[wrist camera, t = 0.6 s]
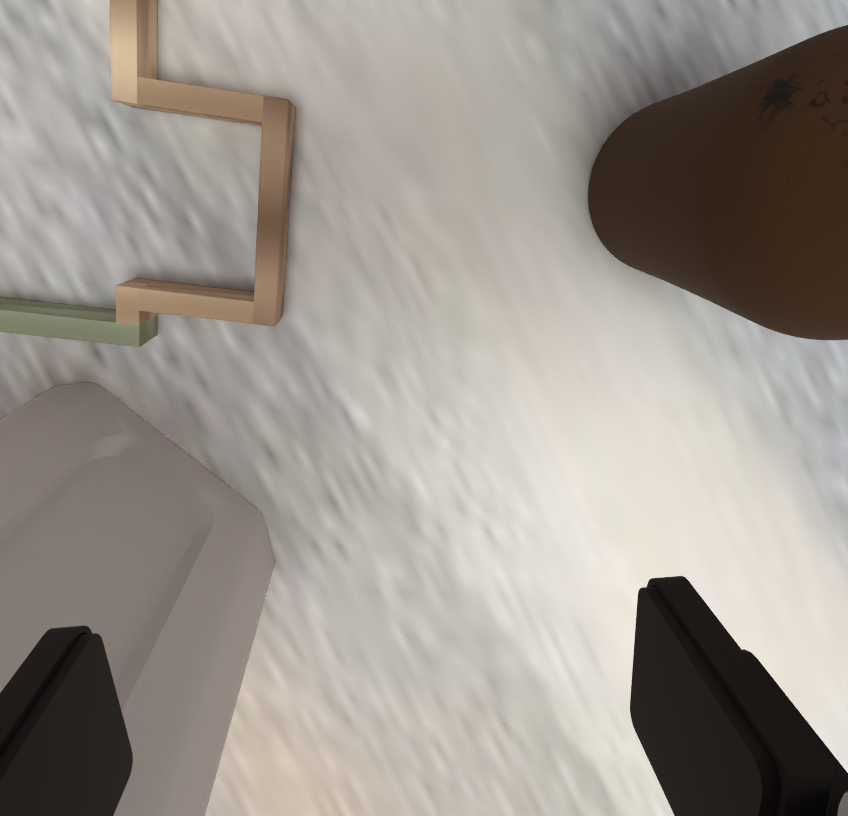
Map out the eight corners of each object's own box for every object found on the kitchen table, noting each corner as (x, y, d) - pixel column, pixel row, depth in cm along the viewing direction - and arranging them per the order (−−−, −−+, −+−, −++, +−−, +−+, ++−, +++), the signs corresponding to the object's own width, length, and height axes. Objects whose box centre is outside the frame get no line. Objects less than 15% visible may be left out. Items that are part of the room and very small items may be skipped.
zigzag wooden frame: (-297, -224, 29) (-372, -269, 26) (309, -112, 31) (302, -141, 29) (-205, 294, 36) (-255, 303, 33) (280, 348, 39) (272, 361, 36)
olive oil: (563, 274, 38) (856, 415, 15) (593, 78, 35) (1035, -145, 11) (732, 288, 39) (1260, 440, 16) (777, 98, 36) (1535, -69, 12)
